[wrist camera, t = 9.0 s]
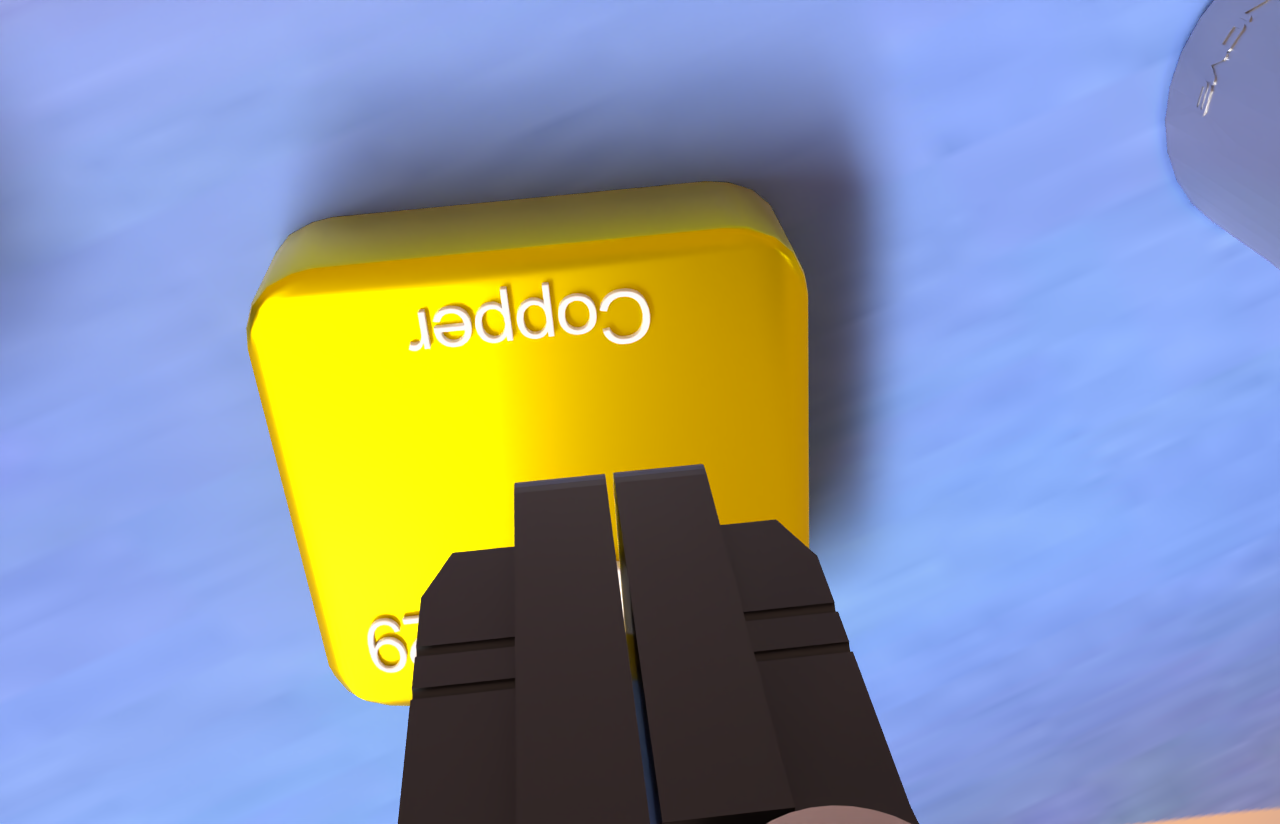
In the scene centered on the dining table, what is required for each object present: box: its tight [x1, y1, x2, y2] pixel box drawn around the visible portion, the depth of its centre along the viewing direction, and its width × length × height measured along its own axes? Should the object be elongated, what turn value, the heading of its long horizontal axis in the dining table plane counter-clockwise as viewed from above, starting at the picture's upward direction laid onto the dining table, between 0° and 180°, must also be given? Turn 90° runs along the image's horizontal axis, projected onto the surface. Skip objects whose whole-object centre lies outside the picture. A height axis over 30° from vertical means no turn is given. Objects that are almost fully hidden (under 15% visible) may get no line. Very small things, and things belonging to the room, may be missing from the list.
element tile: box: [246, 181, 809, 706], centre depth 36 cm, size 15×15×5 cm
